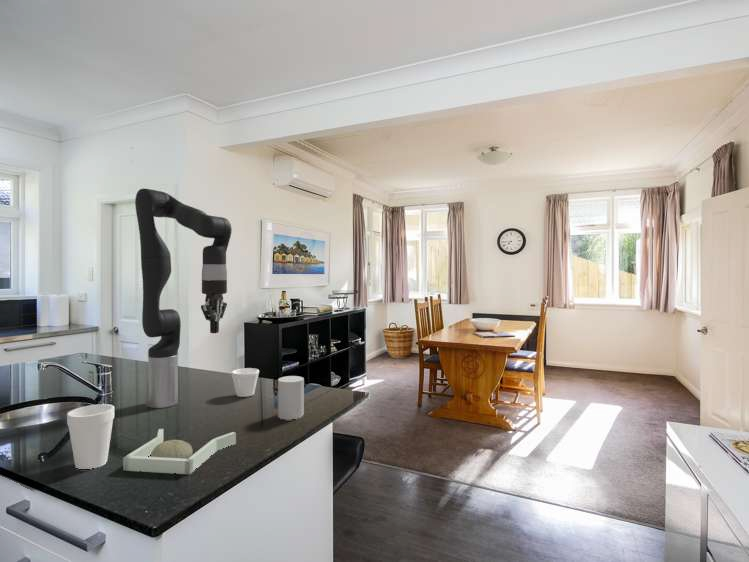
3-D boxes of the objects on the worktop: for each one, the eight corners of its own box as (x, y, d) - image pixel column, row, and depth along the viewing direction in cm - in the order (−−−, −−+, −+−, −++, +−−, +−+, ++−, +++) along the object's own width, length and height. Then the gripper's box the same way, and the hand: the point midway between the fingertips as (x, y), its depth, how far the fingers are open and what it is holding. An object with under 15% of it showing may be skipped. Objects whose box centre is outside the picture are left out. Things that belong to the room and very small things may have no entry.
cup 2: (308, 413, 137) (308, 377, 137) (295, 421, 130) (295, 383, 129) (286, 410, 140) (286, 375, 140) (273, 418, 132) (273, 380, 132)
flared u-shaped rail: (111, 469, 97) (111, 457, 97) (159, 439, 115) (159, 428, 115) (202, 475, 95) (202, 462, 95) (236, 443, 113) (236, 432, 113)
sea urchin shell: (183, 463, 96) (160, 438, 97) (160, 486, 97) (137, 461, 97) (202, 447, 106) (181, 424, 106) (181, 468, 106) (160, 445, 106)
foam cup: (83, 456, 104) (83, 404, 104) (122, 454, 105) (122, 403, 105) (58, 474, 95) (57, 417, 95) (100, 472, 96) (100, 416, 95)
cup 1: (260, 397, 154) (260, 372, 154) (232, 400, 151) (232, 375, 151) (257, 390, 164) (257, 367, 164) (230, 393, 160) (230, 369, 160)
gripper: (213, 278, 140) (213, 330, 140) (192, 279, 126) (192, 335, 127) (234, 278, 139) (234, 330, 139) (215, 279, 126) (215, 336, 126)
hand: (214, 332), depth 133 cm, fingers closed
